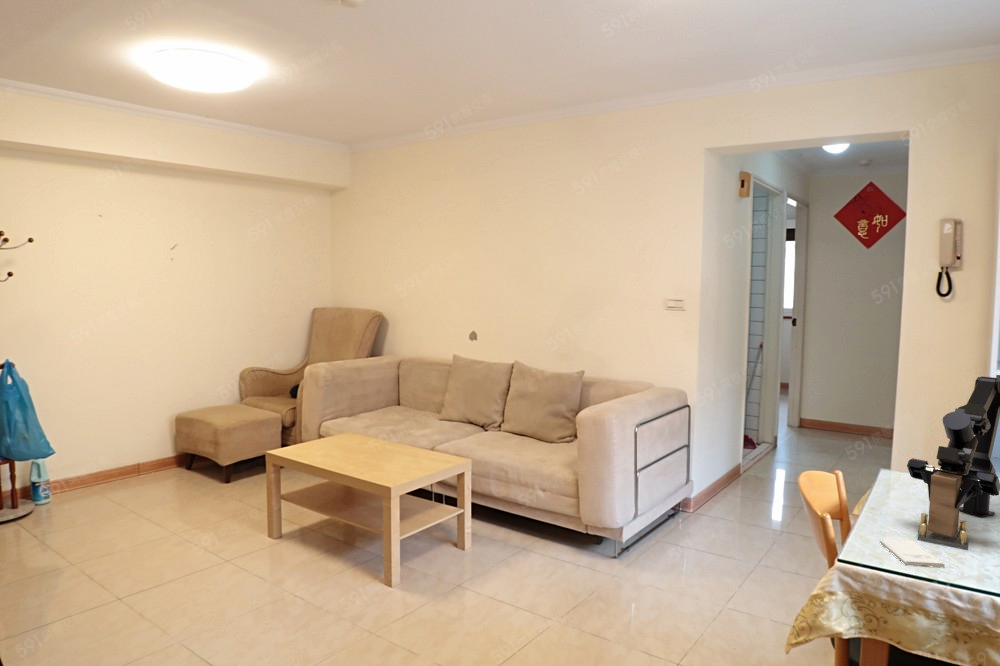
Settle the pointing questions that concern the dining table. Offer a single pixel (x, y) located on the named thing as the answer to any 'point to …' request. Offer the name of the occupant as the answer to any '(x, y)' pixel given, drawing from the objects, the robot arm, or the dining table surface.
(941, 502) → the walnut post
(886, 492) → the dining table surface
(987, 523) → the dining table surface
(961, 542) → the plate
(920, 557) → the external hard drive
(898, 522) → the dining table surface
